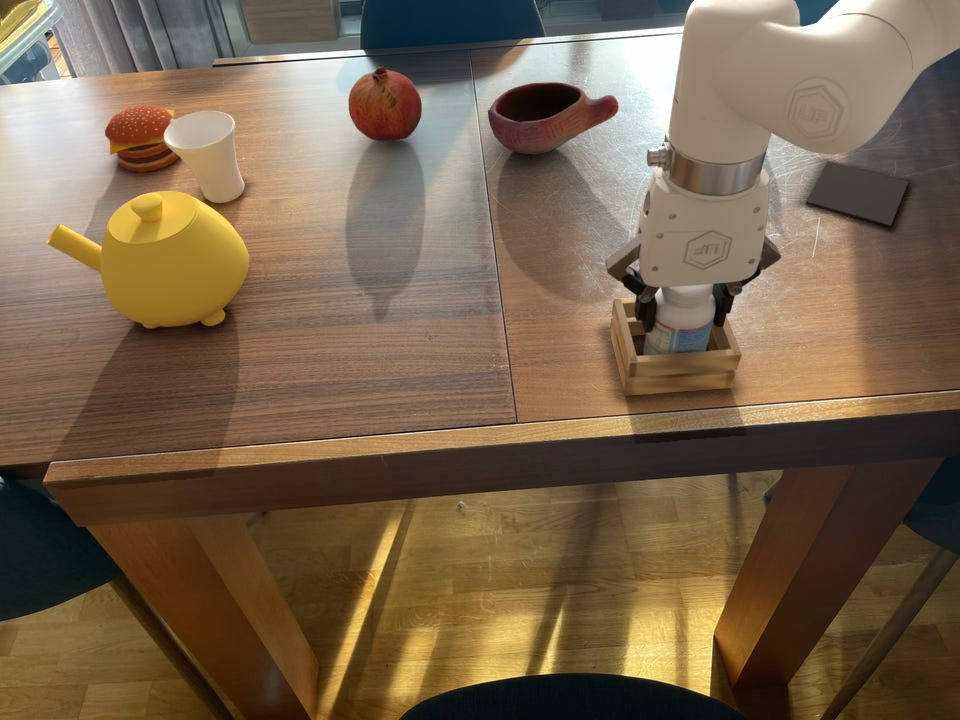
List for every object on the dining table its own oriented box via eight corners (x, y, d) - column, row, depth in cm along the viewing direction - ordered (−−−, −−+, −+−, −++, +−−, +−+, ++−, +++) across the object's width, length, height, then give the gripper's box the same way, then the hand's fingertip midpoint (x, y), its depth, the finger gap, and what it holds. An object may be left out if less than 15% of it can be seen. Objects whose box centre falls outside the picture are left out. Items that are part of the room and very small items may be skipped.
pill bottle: (704, 343, 77) (725, 261, 69) (699, 387, 73) (720, 305, 65) (645, 334, 78) (659, 252, 70) (638, 376, 74) (651, 295, 66)
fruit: (435, 144, 105) (428, 77, 97) (370, 164, 102) (357, 97, 95) (408, 110, 111) (399, 45, 104) (345, 128, 109) (332, 62, 101)
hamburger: (118, 145, 108) (98, 104, 104) (184, 132, 110) (168, 90, 105) (118, 180, 102) (97, 137, 97) (188, 165, 104) (171, 122, 99)
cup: (220, 166, 103) (196, 101, 96) (269, 184, 100) (249, 118, 92) (173, 200, 99) (144, 134, 91) (223, 220, 95) (198, 153, 88)
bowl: (504, 178, 98) (503, 124, 92) (480, 129, 107) (478, 76, 101) (617, 157, 100) (623, 102, 95) (585, 110, 109) (589, 58, 103)
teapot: (63, 351, 81) (-4, 255, 71) (109, 258, 91) (56, 162, 81) (243, 344, 80) (201, 246, 70) (269, 251, 91) (236, 154, 80)
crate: (707, 325, 79) (717, 290, 75) (731, 388, 73) (742, 354, 69) (609, 332, 79) (613, 298, 75) (624, 396, 73) (630, 362, 69)
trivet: (907, 183, 94) (908, 181, 93) (890, 227, 88) (891, 225, 88) (826, 162, 97) (827, 160, 97) (805, 203, 92) (805, 201, 92)
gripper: (612, 195, 55) (597, 355, 69) (841, 176, 55) (781, 340, 69) (596, 141, 60) (585, 300, 74) (806, 124, 60) (757, 286, 74)
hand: (680, 318), depth 71 cm, fingers closed on pill bottle, 6 cm apart
